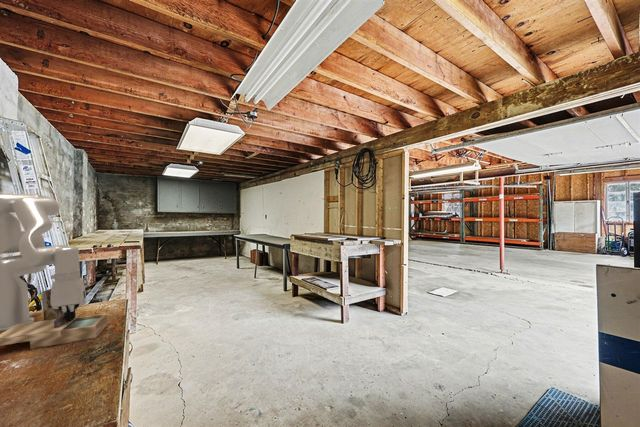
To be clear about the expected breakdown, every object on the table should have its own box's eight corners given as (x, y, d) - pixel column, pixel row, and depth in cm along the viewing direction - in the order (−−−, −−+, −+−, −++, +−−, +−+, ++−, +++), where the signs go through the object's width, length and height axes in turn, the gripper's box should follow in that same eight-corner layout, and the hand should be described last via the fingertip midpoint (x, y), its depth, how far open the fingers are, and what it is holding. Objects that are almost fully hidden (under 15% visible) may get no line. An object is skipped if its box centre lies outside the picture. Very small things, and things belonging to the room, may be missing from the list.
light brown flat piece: (-11, 347, 98) (-12, 333, 98) (18, 329, 113) (17, 317, 113) (60, 336, 106) (59, 323, 106) (78, 320, 120) (78, 309, 120)
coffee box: (75, 321, 128) (73, 287, 127) (61, 327, 122) (59, 291, 121) (58, 320, 129) (56, 286, 128) (43, 326, 122) (41, 291, 122)
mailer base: (30, 348, 103) (29, 335, 103) (50, 332, 116) (50, 321, 116) (95, 338, 111) (94, 326, 110) (107, 324, 124) (107, 313, 123)
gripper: (38, 281, 106) (41, 327, 107) (86, 276, 112) (88, 320, 112) (49, 276, 113) (51, 320, 114) (93, 272, 119) (96, 314, 119)
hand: (70, 320), depth 113 cm, fingers closed
